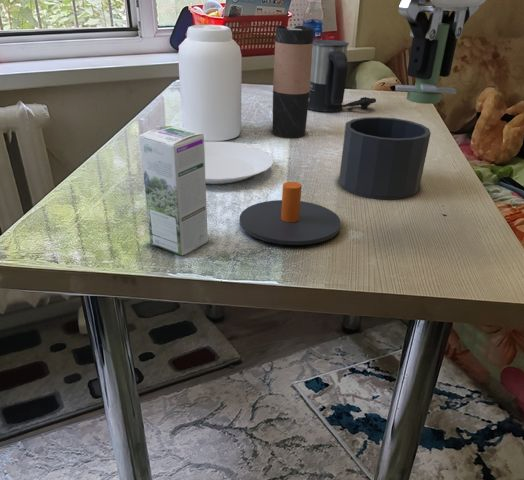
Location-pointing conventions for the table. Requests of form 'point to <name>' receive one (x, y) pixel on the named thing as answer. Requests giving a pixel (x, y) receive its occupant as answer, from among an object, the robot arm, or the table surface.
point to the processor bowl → (383, 157)
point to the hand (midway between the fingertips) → (428, 74)
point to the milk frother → (330, 77)
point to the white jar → (210, 82)
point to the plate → (233, 162)
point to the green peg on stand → (428, 88)
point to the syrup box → (175, 188)
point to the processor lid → (290, 219)
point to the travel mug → (291, 80)
